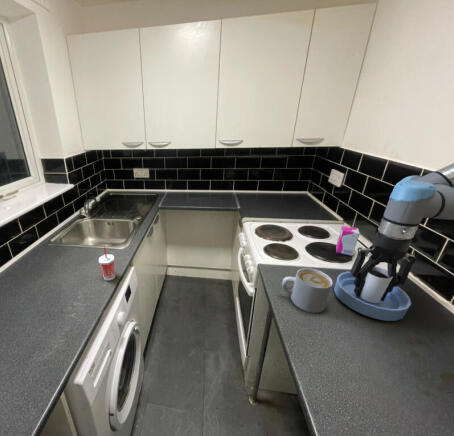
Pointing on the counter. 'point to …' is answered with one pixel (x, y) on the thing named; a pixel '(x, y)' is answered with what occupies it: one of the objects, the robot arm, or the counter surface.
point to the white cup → (375, 285)
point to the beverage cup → (107, 266)
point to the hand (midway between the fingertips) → (368, 295)
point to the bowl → (383, 310)
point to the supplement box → (347, 240)
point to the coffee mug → (309, 289)
